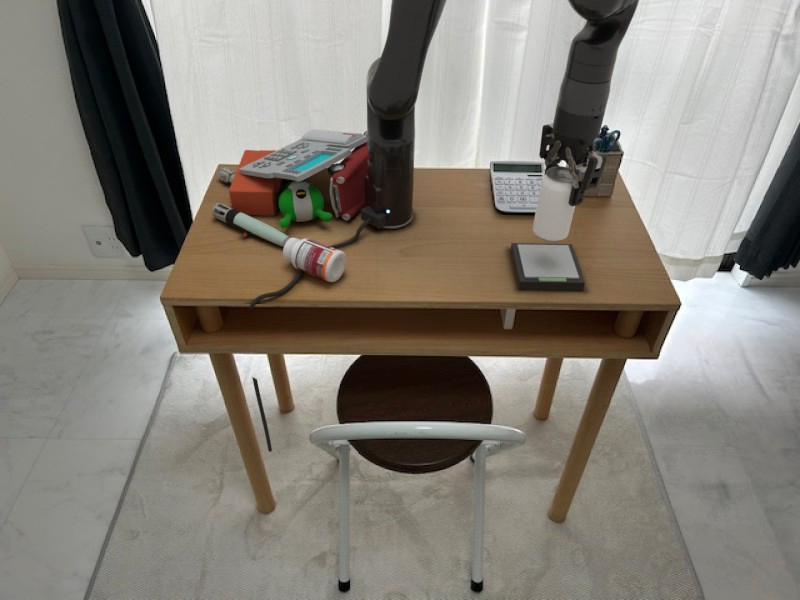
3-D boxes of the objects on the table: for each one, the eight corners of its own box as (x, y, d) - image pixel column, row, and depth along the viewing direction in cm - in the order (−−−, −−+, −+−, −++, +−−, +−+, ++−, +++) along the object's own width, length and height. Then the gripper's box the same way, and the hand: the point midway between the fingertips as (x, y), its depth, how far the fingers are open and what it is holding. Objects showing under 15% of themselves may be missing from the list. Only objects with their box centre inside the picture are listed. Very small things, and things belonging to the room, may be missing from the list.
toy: (319, 170, 136) (328, 183, 122) (324, 207, 139) (333, 224, 125) (269, 177, 134) (273, 190, 120) (275, 214, 137) (280, 232, 123)
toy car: (319, 173, 124) (363, 179, 121) (371, 123, 142) (412, 127, 138) (327, 220, 131) (369, 227, 127) (376, 166, 149) (415, 171, 145)
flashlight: (284, 258, 123) (212, 223, 130) (296, 240, 124) (223, 207, 132) (278, 250, 120) (204, 215, 128) (290, 232, 121) (216, 198, 129)
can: (568, 244, 110) (582, 185, 102) (531, 240, 111) (543, 181, 103) (567, 225, 115) (581, 167, 107) (532, 220, 116) (544, 163, 108)
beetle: (249, 170, 140) (250, 181, 142) (222, 162, 141) (224, 174, 144) (240, 179, 137) (242, 191, 140) (213, 172, 139) (215, 183, 141)
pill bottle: (346, 275, 118) (300, 256, 122) (348, 246, 114) (300, 228, 119) (327, 288, 113) (279, 269, 117) (329, 259, 110) (280, 240, 114)
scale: (518, 289, 115) (520, 279, 113) (510, 250, 124) (511, 241, 122) (582, 290, 115) (585, 280, 113) (569, 251, 124) (572, 242, 122)
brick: (228, 190, 127) (232, 215, 131) (272, 191, 127) (275, 216, 131) (244, 149, 141) (248, 172, 145) (284, 150, 141) (286, 173, 145)
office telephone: (317, 123, 144) (376, 128, 130) (320, 134, 145) (379, 140, 132) (236, 163, 131) (291, 172, 118) (240, 174, 133) (295, 185, 119)
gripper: (535, 90, 101) (520, 179, 112) (592, 126, 91) (569, 220, 102) (572, 82, 103) (554, 171, 114) (631, 117, 94) (605, 210, 105)
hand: (561, 194), depth 108 cm, fingers closed on can, 6 cm apart
